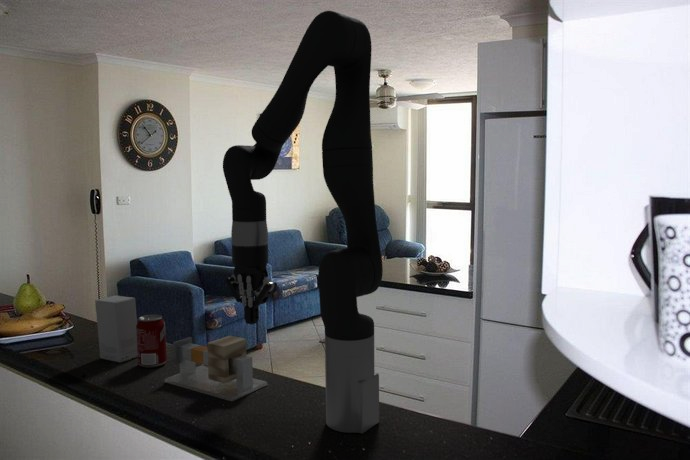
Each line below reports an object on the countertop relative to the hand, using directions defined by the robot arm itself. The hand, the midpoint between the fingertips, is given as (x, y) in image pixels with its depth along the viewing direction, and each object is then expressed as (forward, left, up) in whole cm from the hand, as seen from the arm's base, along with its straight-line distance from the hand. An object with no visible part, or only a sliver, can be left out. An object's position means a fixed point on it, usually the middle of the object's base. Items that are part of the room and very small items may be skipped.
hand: (251, 323), depth 126 cm
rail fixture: (+11, 0, -16) cm, 19 cm away
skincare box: (+46, 0, -16) cm, 49 cm away
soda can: (+34, -1, -16) cm, 38 cm away
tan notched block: (+7, 0, -13) cm, 15 cm away
